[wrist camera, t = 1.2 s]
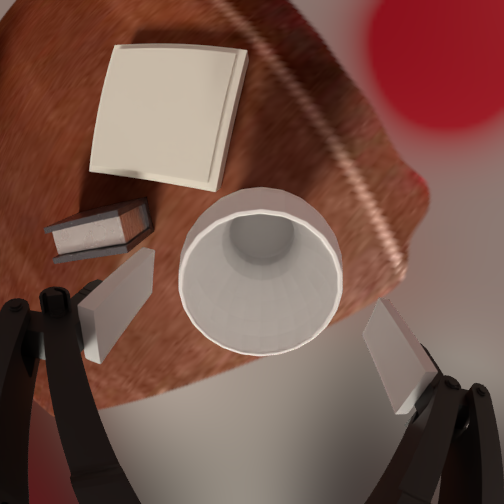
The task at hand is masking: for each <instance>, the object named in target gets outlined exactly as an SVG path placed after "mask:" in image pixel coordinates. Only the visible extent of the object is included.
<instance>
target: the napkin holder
mask: <svg viewBox="0 0 504 504" xmlns="http://www.w3.org/2000/svg"><path fill="white" fill-rule="evenodd" d="M44 231H45V234H46V233H50V232H52V233H53V236H54V240H55V244H56V247H57V250H58V254H59V255H57V256H56V257H54V258H53V261H54V264H56V263H62V262H68V261H75V260H82V259H88V258H95V257H102V256H108V255H115V254H122V253H128V252H129V251H130V250H132V249H133V248H134V247H135V246H136V245H138V244H139V243H140V242H141V241H143V240H144V239H145V238H146V237H148V236H149V235H150V234H151V233H153V232H154V229H153V224H152V220H151V215H150V211H149V206H148V201H147V197H143V198H138V199H134V200H129V201H125V202H120V203H116V204H112V205H107V206H103V207H99V208H95V209H91V210H87V211H83V212H79V213H77V214H74V215H72V216H70V217H67V218H65V219H63V220H61V221H58V222H56V223H54V224H52V225H50V226H47V227H45V228H44Z"/></svg>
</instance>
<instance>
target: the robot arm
mask: <svg viewBox="0 0 504 504" xmlns="http://www.w3.org/2000/svg"><path fill="white" fill-rule="evenodd" d="M154 256H155V250H152V249H148V248H144V247H142V248H141V249H140V250H139V251H138V252H136V253H135V254H134V255H133V256H132V257H130V258H129V259H128V260H127V261H126V262H125V263H123V264H122V265H121V266H120V267H119V268H118V269H117V270H115V271H114V272H113V273H112V274H111V275H110V276H109V277H108V278H106V279H105V280H104V281H101V280H98V279H97V280H95V281H92V282H90V283H88V284H87V285H86V286H85V287H83V289H81V290H80V291H79V292H78V293H76V294H75V295H74V296H73V297H72V298H71V299H70V293H69V291H68V290H66V289H65V288H62V287H49V288H47V289H44V290H43V291H42V292H41V293H40V295H39V299H40V304H41V310H42V312H37V311H31V310H30V308H29V304H28V302H27V301H26V300H24V299H20V298H17V299H16V298H15V299H11V300H9V301H8V302H6V303H5V304H4V305H3V307H2V309H1V311H0V504H29V489H28V445H29V444H28V443H29V428H30V418H31V409H32V401H33V394H34V388H35V382H36V376H37V371H38V366H39V361H40V359H44V360H46V368H47V375H48V382H49V388H50V394H51V400H52V405H53V410H54V415H55V419H56V423H57V427H58V431H59V435H60V439H61V443H62V446H63V450H64V453H65V456H66V459H67V462H68V465H69V469H70V472H71V477H70V479H71V484H72V487H73V489H74V492H75V494H76V497H77V500H78V502H79V504H141V503H140V501H139V499H138V497H137V496H136V494H135V492H134V490H133V488H132V486H131V485H130V483H129V481H128V479H127V477H126V475H125V473H124V471H123V469H122V468H121V466H120V464H119V462H118V460H117V458H116V456H115V453H114V451H113V449H112V447H111V444H110V442H109V440H108V437H107V434H106V432H105V429H104V427H103V424H102V422H101V419H100V416H99V414H98V411H97V408H96V405H95V402H94V399H93V396H92V393H91V389H90V386H89V383H88V379H87V376H86V372H85V369H84V365H83V361H82V357H81V351H82V350H83V349H84V352H85V357H86V359H89V360H91V361H93V362H96V363H99V364H101V363H102V362H103V360H104V359H105V357H106V356H107V354H108V353H109V351H110V350H111V349H112V347H113V346H114V344H115V343H116V341H117V340H118V339H119V337H120V336H121V334H122V333H123V332H124V330H125V329H126V327H127V326H128V325H129V323H130V322H131V321H132V319H133V318H134V316H135V315H136V314H137V312H138V311H139V310H140V308H141V307H142V306H143V304H144V303H145V302H146V300H147V299H148V298H149V296H150V295H151V294H152V284H153V269H154ZM362 336H363V338H364V341H365V343H366V345H367V347H368V350H369V352H370V354H371V357H372V359H373V361H374V363H375V366H376V368H377V370H378V373H379V375H380V378H381V380H382V382H383V385H384V388H385V390H386V392H387V395H388V397H389V400H390V403H391V405H392V408H393V410H394V412H395V414H407V413H408V412H409V411H410V410H411V408H412V407H413V406H414V405H415V408H416V410H417V411H416V412H415V413H414V415H413V416H412V417H411V419H409V421H408V422H407V423H406V424H405V426H407V425H408V424H409V425H408V427H407V429H406V431H405V434H404V436H403V438H402V440H401V442H400V444H399V446H398V448H397V450H396V452H395V454H394V455H393V457H392V459H391V461H390V463H389V465H388V466H387V468H386V470H385V472H384V473H383V475H382V477H381V478H380V480H379V482H378V483H377V485H376V487H375V488H374V490H373V491H372V493H371V494H370V496H369V497H368V499H367V500H366V502H365V503H364V504H431V499H432V497H433V495H434V492H435V489H436V487H437V484H438V481H439V478H440V476H441V484H440V493H439V501H438V504H504V479H503V467H502V456H501V448H500V441H499V435H498V430H497V424H496V419H495V414H494V409H493V405H492V400H491V397H490V393H489V392H488V390H487V388H486V387H484V385H481V384H479V383H474V384H473V385H472V387H471V388H470V389H469V390H465V389H461V386H460V384H459V382H458V381H457V380H456V379H454V378H453V377H451V376H446V375H445V376H444V375H443V373H442V372H441V370H440V369H439V367H438V366H437V364H436V362H435V361H434V359H433V358H432V356H430V353H429V352H428V350H427V349H426V348H425V347H424V346H423V345H422V344H421V343H419V341H418V340H417V338H416V337H415V335H414V334H413V332H412V331H411V330H410V328H409V327H408V325H407V324H406V322H405V321H404V320H403V318H402V317H401V315H400V314H399V313H398V311H397V310H396V308H395V307H394V305H393V304H392V303H391V301H390V300H389V299H384V298H378V301H377V303H376V305H375V308H374V310H373V312H372V314H371V317H370V319H369V321H368V323H367V325H366V328H365V330H364V332H363V334H362ZM468 424H469V425H468ZM467 425H468V427H467V429H466V426H467Z"/></svg>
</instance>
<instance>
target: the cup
mask: <svg viewBox="0 0 504 504" xmlns="http://www.w3.org/2000/svg"><path fill="white" fill-rule="evenodd" d="M342 292H343V270H342V257H341V252H340V249H339V245H338V242H337V239H336V236H335V234H334V233H333V231H332V230H331V228H330V227H329V225H328V224H327V222H326V221H325V219H324V218H323V217H322V216H321V215H320V213H319V212H318V211H317V210H316V209H314V208H313V207H312V206H311V205H309V204H308V203H307V202H306V201H305V200H303V199H302V198H300V197H298V196H296V195H293V194H291V193H289V192H286V191H284V190H280V189H273V188H266V187H257V188H249V189H241V190H239V191H236V192H234V193H231V194H229V195H227V196H224V197H222V198H221V199H219V200H218V201H217V202H215V203H214V204H213V205H212V206H210V207H209V208H208V209H207V210H206V211H205V212H204V213H203V214H202V215H201V216H200V217H199V218H198V220H197V221H196V222H195V224H194V225H193V227H192V228H191V230H190V231H189V232H188V234H187V237H186V240H185V243H184V246H183V249H182V252H181V258H180V266H179V293H180V297H181V300H182V304H183V308H184V309H185V311H186V313H187V315H188V316H189V318H190V320H191V321H192V323H193V325H194V326H195V327H196V328H197V329H198V330H199V331H200V332H201V333H202V334H203V335H204V336H205V337H206V338H208V339H209V340H211V341H213V342H214V343H216V344H218V345H219V346H221V347H222V348H225V349H228V350H231V351H234V352H237V353H240V354H246V355H254V356H268V355H277V354H281V353H285V352H288V351H291V350H295V349H297V348H299V347H301V346H303V345H304V344H306V343H308V342H309V341H311V340H313V339H314V338H315V337H316V336H317V335H318V334H319V333H320V332H321V331H323V330H324V329H325V328H326V327H327V325H328V324H329V322H330V321H331V319H332V317H333V316H334V314H335V313H336V311H337V309H338V306H339V302H340V299H341V295H342Z"/></svg>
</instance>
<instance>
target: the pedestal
mask: <svg viewBox="0 0 504 504" xmlns="http://www.w3.org/2000/svg"><path fill="white" fill-rule="evenodd" d="M248 62H249V58H248V52H247V50H241V49H234V48H226V47H217V46H206V45H191V44H127V45H115V46H114V49H113V53H112V56H111V59H110V63H109V66H108V70H107V74H106V78H105V82H104V86H103V90H102V95H101V99H100V104H99V109H98V114H97V119H96V125H95V131H94V137H93V144H92V151H91V159H90V168H89V171H90V172H97V173H105V174H112V175H119V176H126V177H132V178H139V179H145V180H151V181H158V182H164V183H169V184H175V185H181V186H186V187H192V188H197V189H203V190H208V191H213V192H216V191H218V190H219V189H220V188H221V184H222V179H223V174H224V169H225V164H226V159H227V154H228V149H229V144H230V140H231V135H232V130H233V126H234V121H235V117H236V112H237V108H238V104H239V99H240V95H241V91H242V87H243V82H244V78H245V74H246V70H247V66H248Z"/></svg>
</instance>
